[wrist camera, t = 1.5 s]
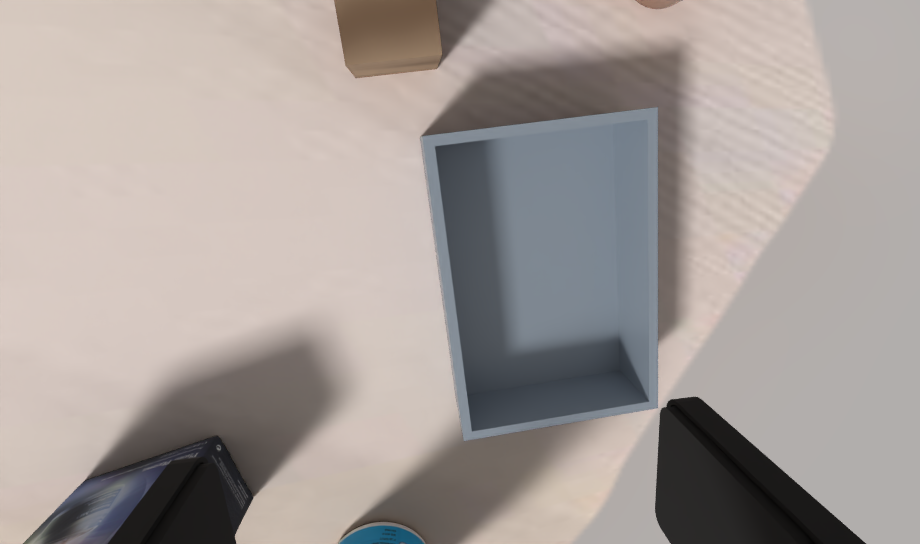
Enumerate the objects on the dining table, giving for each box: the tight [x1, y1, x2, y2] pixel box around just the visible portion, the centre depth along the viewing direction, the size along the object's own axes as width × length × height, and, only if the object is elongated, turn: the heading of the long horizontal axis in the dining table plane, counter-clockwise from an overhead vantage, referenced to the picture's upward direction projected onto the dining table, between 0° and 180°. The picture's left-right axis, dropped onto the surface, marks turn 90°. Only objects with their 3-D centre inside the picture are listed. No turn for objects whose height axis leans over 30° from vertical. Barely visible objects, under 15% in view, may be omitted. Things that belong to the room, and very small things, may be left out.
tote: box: [420, 107, 658, 441], centre depth 31 cm, size 19×13×5 cm
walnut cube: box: [334, 0, 442, 78], centre depth 26 cm, size 5×5×5 cm
